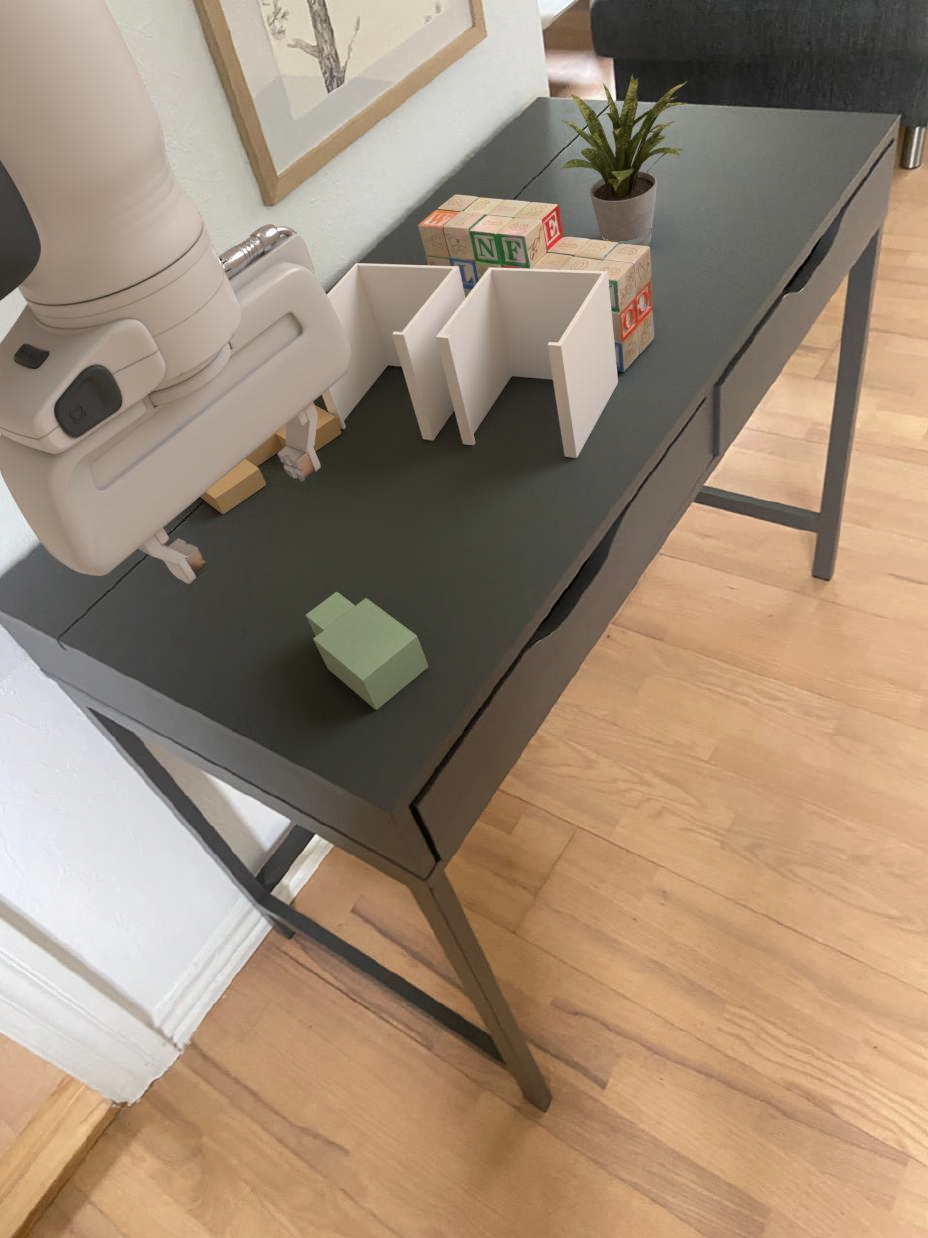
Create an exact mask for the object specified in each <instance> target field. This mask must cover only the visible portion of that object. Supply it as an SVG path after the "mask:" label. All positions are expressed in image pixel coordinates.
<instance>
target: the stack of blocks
mask: <svg viewBox="0 0 928 1238" xmlns="http://www.w3.org/2000/svg"><path fill="white" fill-rule="evenodd" d="M417 228H418V231H419V234H420V238H421V239H420V240H421V242H422V245H423V249H424V253H425V259H426V262H427V265H429V266H459V270H460V275H461V280H462V284H463V289H464V293H465V298H466V297H467V296H468V294H469V293H470V292H471V290H472V289H473V288H474V287H475V285H476V284H477V283H478V281H479V280H480V279H481V277H482V276H483V275H484V274H485V272H486V271H487V270H488V268H489V267H491V268H522V269H554V270H585V271H608V279H609V290H610V301H611V311H612V322H613V333H614V344H615V354H616V365H617V372H622V373H624V372H625V371H626V370H627V369H628V368H629V367H630V366H631V365H632V364H633V362H634V361H636V359H637V358H638V357H639V355H641V354H642V353H643V351H645V350H646V348H647V347H648V346H649V345H650V344H651V343H652V341H653V340H654V338H655V324H654V311H653V309H654V303H653V289H652V280H651V279H652V260H651V259H652V258H651V247H650V246H649V245H648V246H641V245H632V244H624V243H622V244H620V243H618V242H611V241H603V240H602V239H594V238H593V239H590V238H587V237H575V236H564V233H563V232H564V231H563V225H562V219H561V211H560V206H559V204H557V203H549V202H548V203H547V202H537V201H526V200H516V199H502V198H492V197H491V198H490V197H479V196H475V195H474V196H473V195H465V194H454V195H453V196H451V197H450V198H449V199H447V200H446V201H445V202H444V203H442V204H441V205H440V206H438V207H437V209H436V210H434V211H432V212H431V213H430V214H429V215H428V216H426V217H425V218H424V219H423V220H422V221H421V222H419V224H418V225H417Z"/></svg>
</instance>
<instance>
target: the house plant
mask: <svg viewBox="0 0 928 1238" xmlns="http://www.w3.org/2000/svg"><path fill="white" fill-rule="evenodd" d="M638 79H639V76H638V77H637V78H634V73H632V74H631V75H630V79H629V85H628V90H627V92H626V95H625V97H624V101H623V103H622V109H621V111H620V114H619V110H618V108H617V105H616V103H615V101H614V99H613V97H612V95H611V92H610V90H609V88H608V87H607V86H606V84H604V82H602V84H603V88H604V91H605V94H606V100H607V104H608V108H609V112H605V113H603V114H602V116H604V115H607V116H608V118H609V120H610V121H611V124H612V132H611V133H612V135H613V141H614V146H615V150H614V151H613V149H612V146H610V144H609V141H608V138H607V135H606V133H605V129H604V128H603V126H602V123H601V121H600V119H599V117H598V115H597V113H596V112H595V110H594V109H593V108H592V107H591V106H590V105H588V104H587V103H586V102H585V101H584V100H583V99H582V98H581V97H579V96H577V95H575V94H572V93H570V96H571V97H572V99H573V101H574V102H575V104H576V106H577V107H578V110H579V112H580V113H581V114H582V117H583V118H584V121H585V123H586V125H587V128H588V131H589V133H587V132H586V131H584V130H583V129H582V128H580V127H579V126H577V125H576V124H575V123H572V122H570V121H566V120H564V119H563V120H562V119H561V121H562V122H563V123H565V125H566V126H569V127H570V128H571V129H573V130H574V131H575V132H576V133H577V134H578V135H579V136H580V137H581V138H582V139H583V140H585V142H587V143H588V145H589V146H590V148H589V147H586V148H583V149H582V150H581V151H580V154H581V155H582V156H583V157H584V158H585V159H586V160H585V159H581V158H574V159H570V160H569V161H566V163H565V164H564V165H563V166H562V167H561V169H560V170H562V169H570V168H571V169H572V168H584V169H585V168H586V169H592V170H594V171H596V172H597V173H599V174H600V176H601V177H602V178H600V179H598V180H597V181H595V182H594V183H593V184H592V185H591V188H589V196H590V200H591V203H592V208H593V211H594V214H595V219H596V222H597V226H598V230H599V233H600V236H601V235H602V236H603V237H604V238H605V239H608V240H609V241H615V242H617V241H618V242H619V241H628V240H633V239H636V238H639V237H641V236H644V235H646V234H647V233H648V232H649V231H650V230H651V228H652V229H653V226H654V217H655V207H656V198H657V189H658V179H657V177H656V176H655V175H653V174H652V173H650V172H649V171H650V170H651V168H648V170H647V171H644V170H641V167H642V165H643V164H644V163H645V162H646V161H647V160H648V159H649V158H651V157H652V156H654V155H660V154H661V156H660V157H659V158H658V159H657V160H656V161H655V162H654V163H653V165H655V164H657V163H658V161H659V160H661V158H663V157H664V156H665V155H668V154H670V155H671V154H672V155H677V156H678V157H680V158H681V159H682V161H684V160H683V158H682V156H681V155H680V153H679V151H683V149H682V148H681V149H680V148H671V147H665V146H663V147H658V148H655V147H656V146H657V145H659V144H660V143H661V142H662V141H663V140H664V139H665V138H667V136H665V135H661V133H662V132H663V130H664V129H665V128H667V127H670V126H671V124H673V123H674V122H675V120H673V121H670V122H667V123H660V124H657V125H655V126H654V123H655V122H656V120H657V118H658V117H659V115H661V113H662V112H664V111H666V110H667V109H669V108H673V107H677V106H683V105H686V104H688V102H684V101H683V102H682V101H679V102H678V101H677V102H672V103H670V102H671V101H674V100H675V99H677V98H678V97H679V95H676V96H673V97H671V96H672V95H673V94H674V93H675V92H676V91H678V90H679V89H680V88H682V87H683V86H685V85H686V84H687V83H688V82H689V80H686V81H684V82H682V83H680V84H678V85H676V86H675V87H673V88H671V89H670V90H668V91H667V92H666V93H664V94H663V95H662V96H661V97H660V98H659V99H658V100H657V102H656V103H655V104H654V105H653V107H651V108H649V110H647V111H645V112H643V114H641V115H639V116H638V117H636V115H637V110H638V106H639V103H638V102H639V101H638V96H637V95H638V94H637V91H638V87H639V81H638ZM641 120H643V121H642V123H641V126H640V127H639V130H638V131H637V132H636V133H635V134H634V135H633V129H634V127H635V126H636V125H637V124H638V123H639V122H640V121H641ZM653 126H654V127H653ZM650 133H652V134H651V136H649V137H648V135H649V134H650ZM632 135H633V136H632ZM654 148H655V149H654ZM652 234H653V232H652V233H651V234H650V236H649V237H648V238H647V239H645V240H643V241H641V242H639V243H636V244H633V245H641V246H649V245H650V244H651V242H652V236H653V235H652Z"/></svg>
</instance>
